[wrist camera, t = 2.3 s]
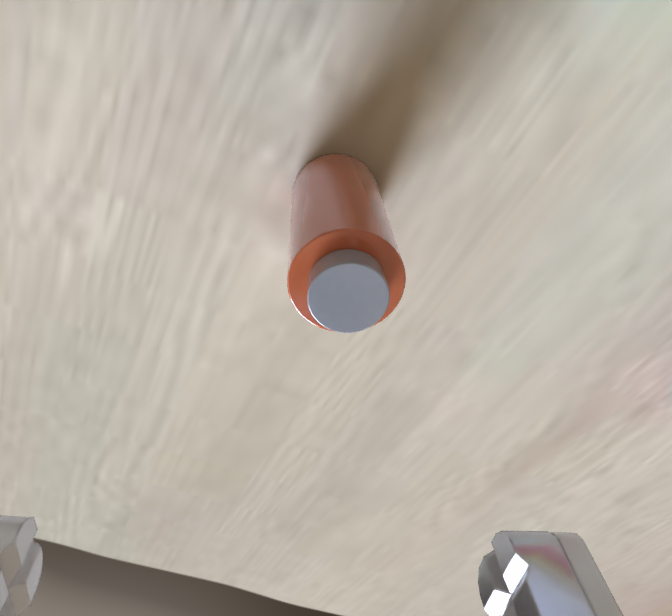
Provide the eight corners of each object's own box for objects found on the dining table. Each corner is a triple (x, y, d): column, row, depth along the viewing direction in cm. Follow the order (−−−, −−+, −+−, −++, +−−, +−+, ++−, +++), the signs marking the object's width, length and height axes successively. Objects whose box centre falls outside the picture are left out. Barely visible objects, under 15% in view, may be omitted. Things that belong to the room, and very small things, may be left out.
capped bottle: (383, 157, 29) (421, 247, 20) (371, 238, 32) (400, 352, 22) (294, 149, 29) (289, 237, 19) (290, 232, 31) (283, 346, 22)
